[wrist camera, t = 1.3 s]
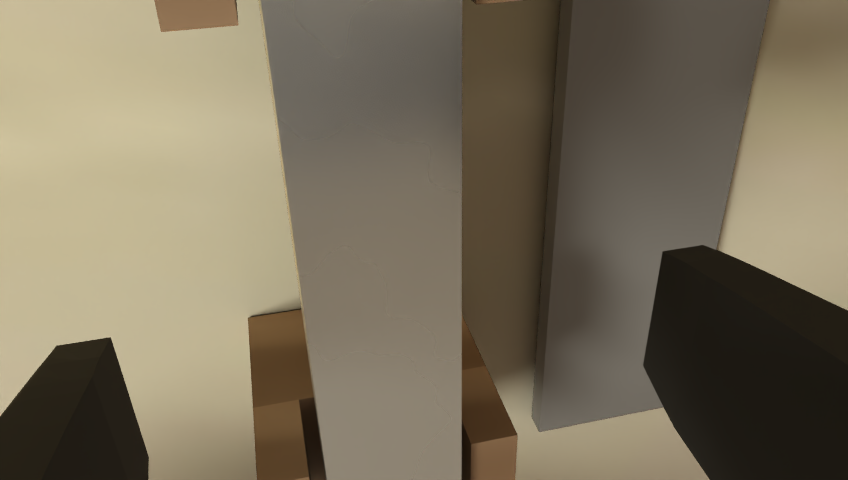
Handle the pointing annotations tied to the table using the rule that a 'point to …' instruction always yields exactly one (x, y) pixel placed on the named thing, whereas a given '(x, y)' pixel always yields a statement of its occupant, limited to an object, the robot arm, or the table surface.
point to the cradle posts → (289, 365)
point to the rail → (375, 224)
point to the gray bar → (632, 183)
